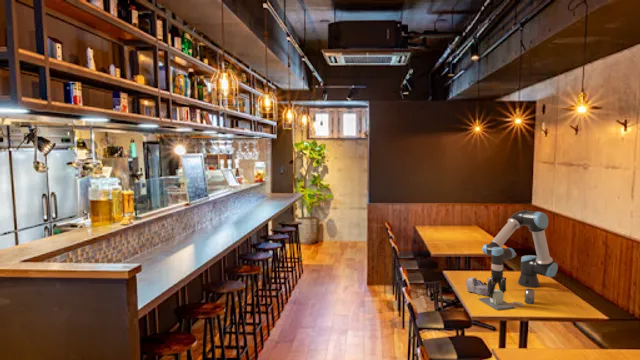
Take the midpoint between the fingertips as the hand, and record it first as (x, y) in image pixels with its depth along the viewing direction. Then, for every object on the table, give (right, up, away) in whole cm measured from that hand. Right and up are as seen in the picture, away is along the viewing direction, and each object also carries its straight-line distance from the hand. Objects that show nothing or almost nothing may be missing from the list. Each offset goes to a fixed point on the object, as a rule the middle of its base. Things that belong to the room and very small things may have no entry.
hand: (496, 301), depth 291 cm
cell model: (-2, 0, +23) cm, 23 cm away
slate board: (0, -2, 0) cm, 2 cm away
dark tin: (+24, -1, +2) cm, 24 cm away
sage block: (0, 0, 0) cm, 0 cm away
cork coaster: (+14, -2, -1) cm, 14 cm away
